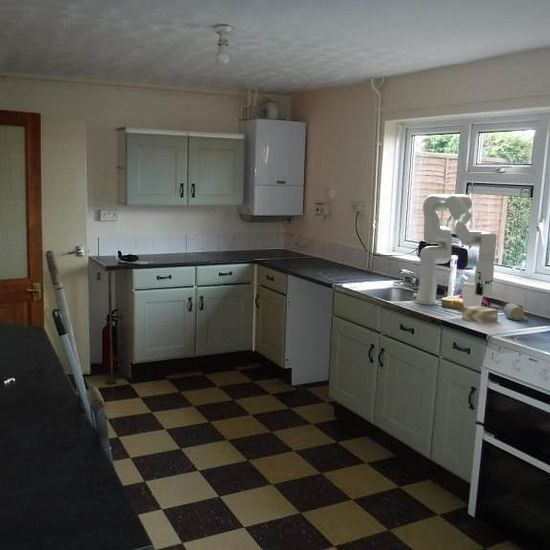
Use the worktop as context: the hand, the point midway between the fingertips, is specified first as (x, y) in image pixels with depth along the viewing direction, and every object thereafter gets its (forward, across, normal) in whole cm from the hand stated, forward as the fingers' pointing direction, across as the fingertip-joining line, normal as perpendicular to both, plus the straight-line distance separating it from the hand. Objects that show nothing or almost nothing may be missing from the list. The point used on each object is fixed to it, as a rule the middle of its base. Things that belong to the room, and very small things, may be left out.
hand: (482, 293), depth 309 cm
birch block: (+13, 0, 0) cm, 13 cm away
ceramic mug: (+13, -20, +8) cm, 25 cm away
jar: (+13, -16, -15) cm, 26 cm away
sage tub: (+1, 0, 0) cm, 1 cm away
